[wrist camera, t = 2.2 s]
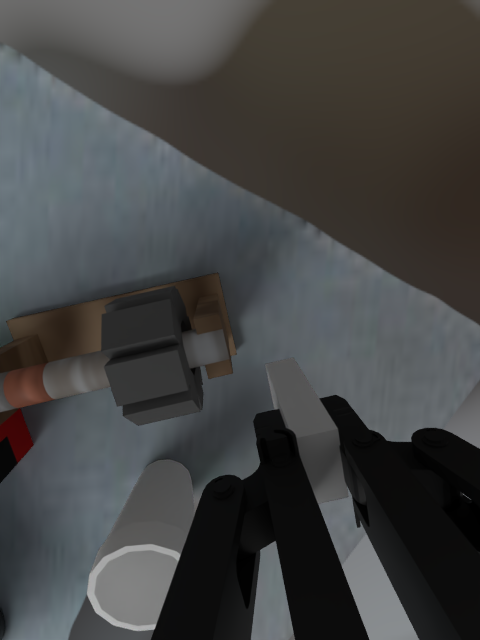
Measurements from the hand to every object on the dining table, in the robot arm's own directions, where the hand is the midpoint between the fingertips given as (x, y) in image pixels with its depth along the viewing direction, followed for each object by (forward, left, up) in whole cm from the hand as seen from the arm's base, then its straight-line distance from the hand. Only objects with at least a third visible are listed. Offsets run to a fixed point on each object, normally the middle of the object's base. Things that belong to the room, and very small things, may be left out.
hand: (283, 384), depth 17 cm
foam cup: (-14, -19, -20) cm, 31 cm away
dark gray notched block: (-8, 0, -11) cm, 14 cm away
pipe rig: (-13, 0, -20) cm, 24 cm away
